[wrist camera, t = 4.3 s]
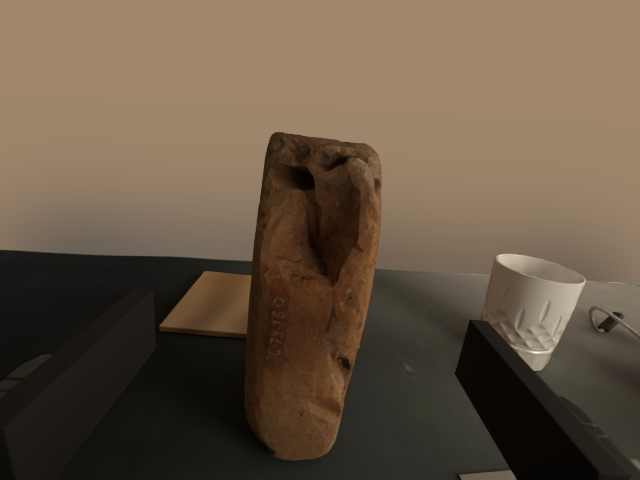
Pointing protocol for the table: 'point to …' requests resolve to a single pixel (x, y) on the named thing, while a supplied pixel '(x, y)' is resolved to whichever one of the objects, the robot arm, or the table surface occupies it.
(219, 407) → the table surface
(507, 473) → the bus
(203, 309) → the cork mat
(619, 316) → the clip-on lamp
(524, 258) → the white cup
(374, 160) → the block
